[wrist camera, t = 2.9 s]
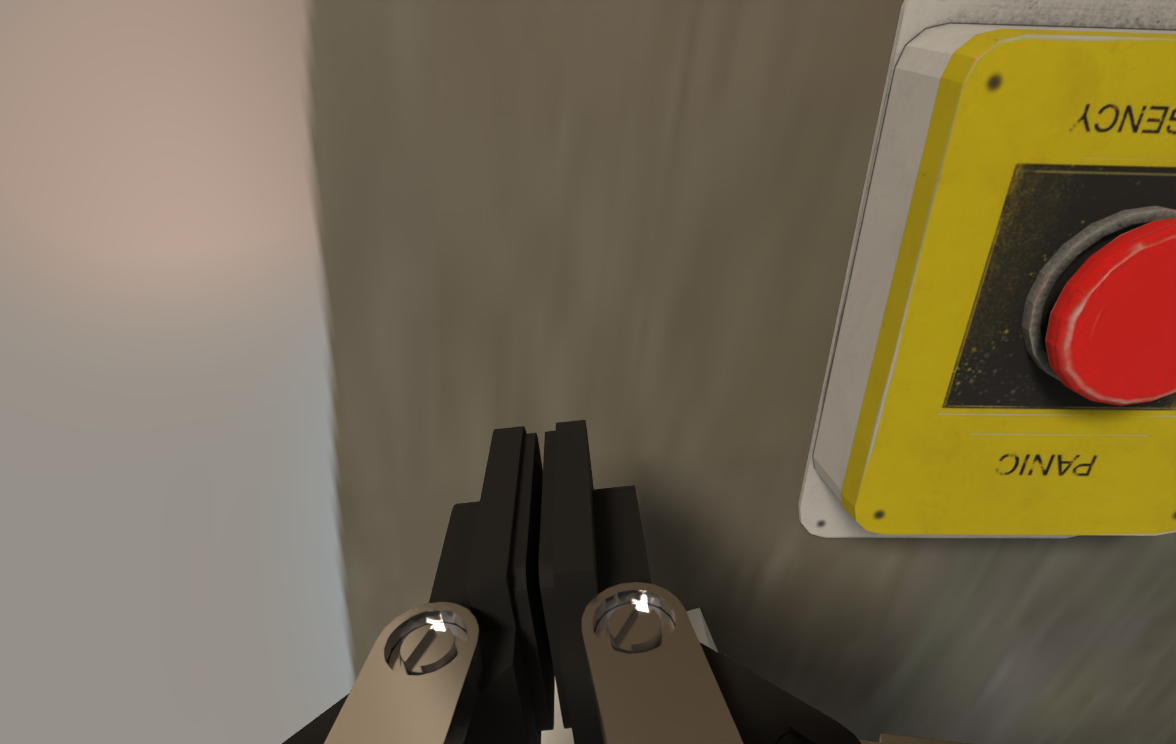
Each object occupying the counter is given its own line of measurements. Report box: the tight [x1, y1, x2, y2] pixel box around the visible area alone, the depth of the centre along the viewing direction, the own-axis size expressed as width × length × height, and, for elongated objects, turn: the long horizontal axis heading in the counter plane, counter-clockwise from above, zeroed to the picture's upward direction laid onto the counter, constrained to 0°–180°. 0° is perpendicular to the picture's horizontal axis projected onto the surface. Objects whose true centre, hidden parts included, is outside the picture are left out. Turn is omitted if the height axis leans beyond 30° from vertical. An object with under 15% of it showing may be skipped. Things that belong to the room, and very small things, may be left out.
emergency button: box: [798, 0, 1176, 538], centre depth 15 cm, size 9×4×15 cm
